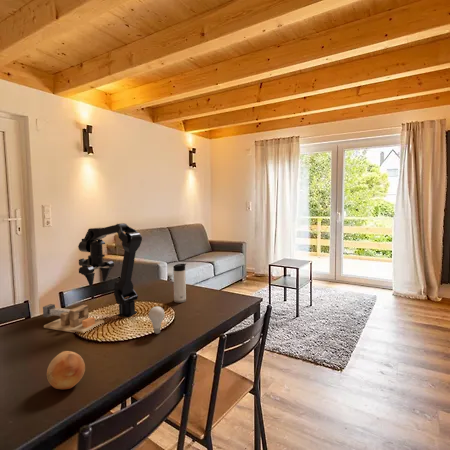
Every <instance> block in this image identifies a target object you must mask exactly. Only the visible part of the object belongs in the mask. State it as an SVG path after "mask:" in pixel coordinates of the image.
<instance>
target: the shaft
mask: <svg viewBox="0 0 450 450" xmlns="http://www.w3.org/2000/svg"><path fill="white" fill-rule="evenodd" d="M71 309H72V308H70V309H69V308H62V307H56V304H54V303H50V304H47V305H44V306H42V317H43V318H50V317H52V316H56V317H57V316H58V317H60V314H61V313H64V312H67V313H69V311H70V310H71ZM78 315H79V317H80V316H81V315H80V312H78ZM69 317H70V313H69Z"/></svg>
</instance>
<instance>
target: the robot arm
mask: <svg viewBox="0 0 450 450" xmlns="http://www.w3.org/2000/svg"><path fill="white" fill-rule="evenodd" d="M115 234H117V237H118V238H119V240H120V241H121V246H122V248H123V250H124V252H123V258H122V264H121V265H122V266H121V270H120V271H121V272H120V276H119V277H120V278H119V280H117V281H114V287H113V289H112V290H113V295H114V299H115V302H116V303H117V305H118V312H119V313H118V314H117V316H118V317H119V316H120V317H127V318H129V317H132V316H133V315H136V313H138V311H137V310H136V304H135V303H136V302H135V301H136V300H138V298H139V295H138V294H137V292H136V291H135V289H134V283H133V281H132V278H133V277H132V276H133V270H134V265H135V259H136V253H137V251H138V249H139V248H140V247H141V244H142V241H143V240H142V239H143V236H142V235H141V233H140V232H138V231H137V230H136V229H134V228H132V227H130V226H129V225H127V223H123V222H121V223H116V224H113V225H109V226H106V227H105V226H104V227H94V228H93V227H92V228H91V227H90V228H88V229H87V231H86V234H85V237H84V238H81V241H80V242H79V243H78V246H77V247H78V250H79V251H80V252H83V253H89V255H88V256H87V259H85V258H80V259H78V265H79V266H80V267H79V268H78V274H81V275H83V277H85V279H86V280H87V282H88V285H89V286H90V287H93V285H94V279H95V271H96V270H97V269H99V270H101V276H102V277H101V278H102V282H104V283H105V282H106V280H107V279H108V276H109V275H110V272H111V270H112V269H113V267H115V262H114V261H113V260H104V258H105V257H106V256H105V254H104V251H103V245H106V242H105V241H104V240H103V239H104V238H106V237H107V236H110V235H115Z"/></svg>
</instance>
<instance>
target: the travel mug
mask: <svg viewBox="0 0 450 450" xmlns="http://www.w3.org/2000/svg"><path fill="white" fill-rule="evenodd" d="M186 264H187V263H177V264H175V265H173V272H172V273H173V301H174V302H175V303H179V304H181V303H185V302H187V293H186V292H187V291H186V290H187V287H186V284H187V283H186V278H187V277H186V266H187V265H186Z"/></svg>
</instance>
